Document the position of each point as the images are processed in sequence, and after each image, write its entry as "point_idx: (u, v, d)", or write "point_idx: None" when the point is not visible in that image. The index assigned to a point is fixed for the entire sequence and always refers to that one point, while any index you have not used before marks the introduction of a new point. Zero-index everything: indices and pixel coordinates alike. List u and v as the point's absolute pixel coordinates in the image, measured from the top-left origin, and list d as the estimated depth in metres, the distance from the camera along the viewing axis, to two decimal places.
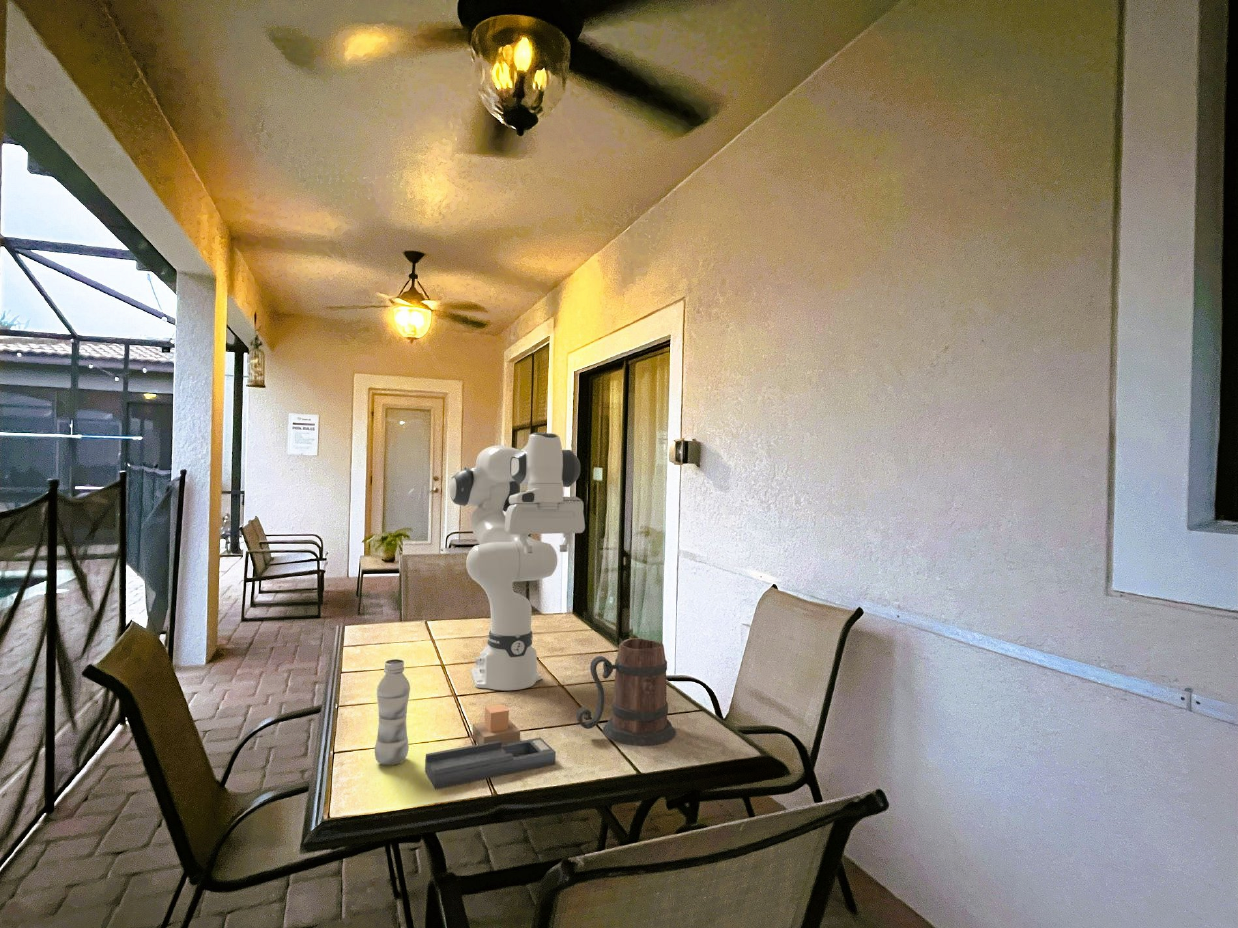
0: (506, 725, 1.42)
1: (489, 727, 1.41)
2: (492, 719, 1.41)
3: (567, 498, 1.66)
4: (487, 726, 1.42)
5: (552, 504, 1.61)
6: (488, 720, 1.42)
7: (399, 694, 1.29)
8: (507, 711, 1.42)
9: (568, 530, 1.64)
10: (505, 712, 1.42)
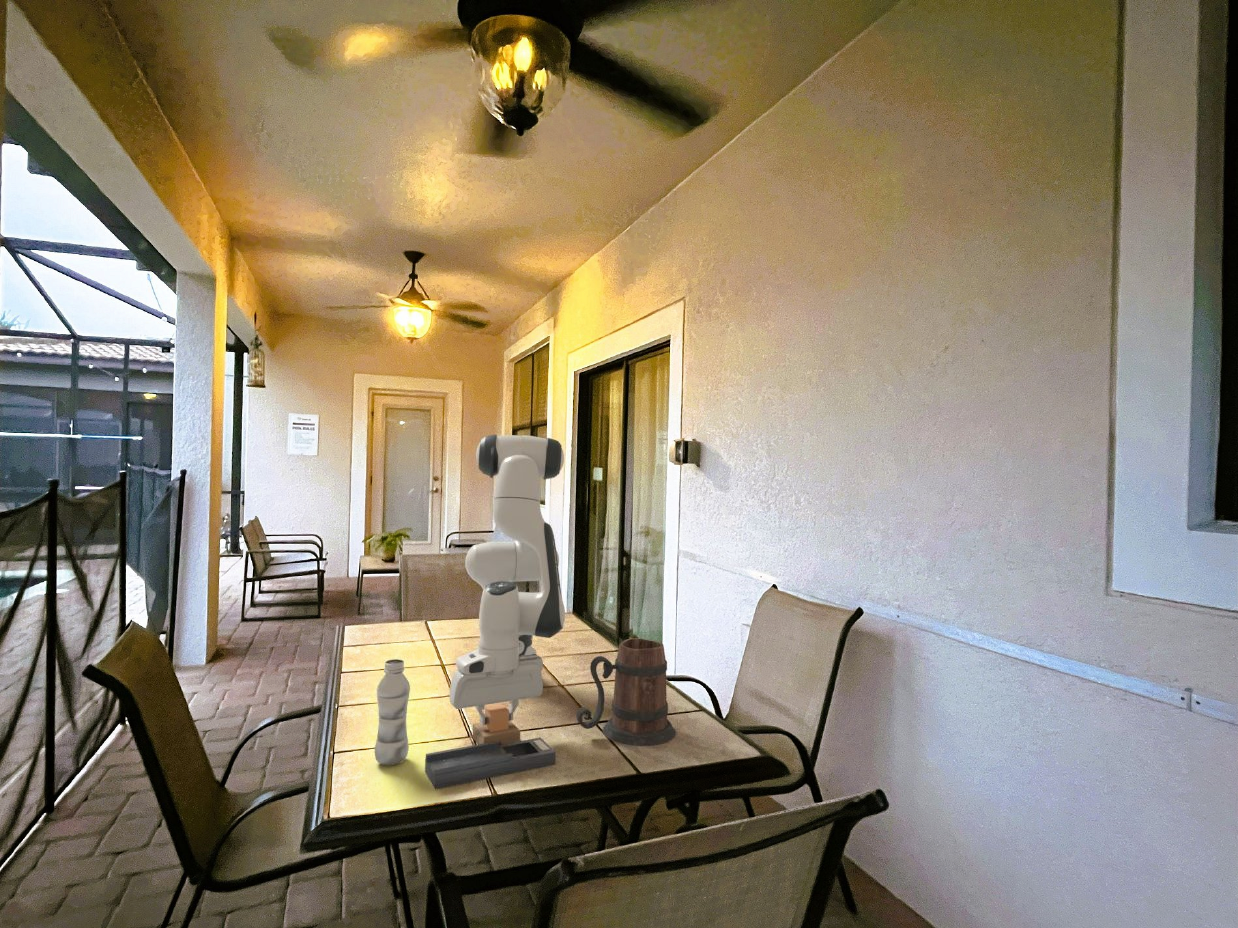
0: (506, 725, 1.42)
1: (490, 727, 1.41)
2: (493, 719, 1.41)
3: (524, 657, 1.46)
4: (487, 726, 1.42)
5: (505, 671, 1.41)
6: None
7: (399, 694, 1.29)
8: (507, 711, 1.42)
9: (523, 696, 1.44)
10: (506, 712, 1.42)
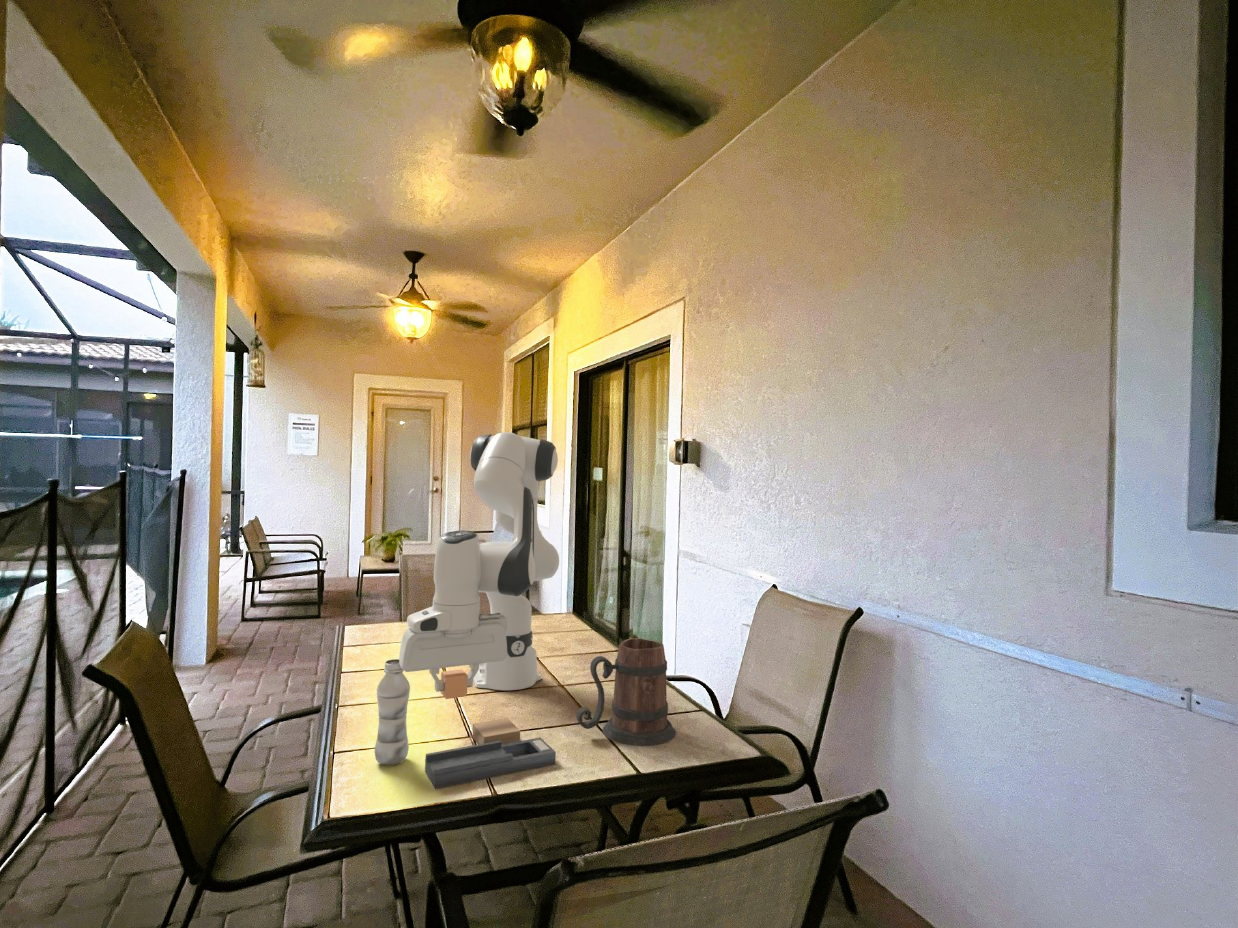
0: (464, 692, 1.25)
1: (445, 693, 1.24)
2: (449, 684, 1.24)
3: (485, 616, 1.29)
4: (443, 693, 1.25)
5: (462, 630, 1.24)
6: (444, 686, 1.25)
7: (399, 694, 1.29)
8: (466, 676, 1.26)
9: (484, 660, 1.28)
10: (464, 677, 1.25)
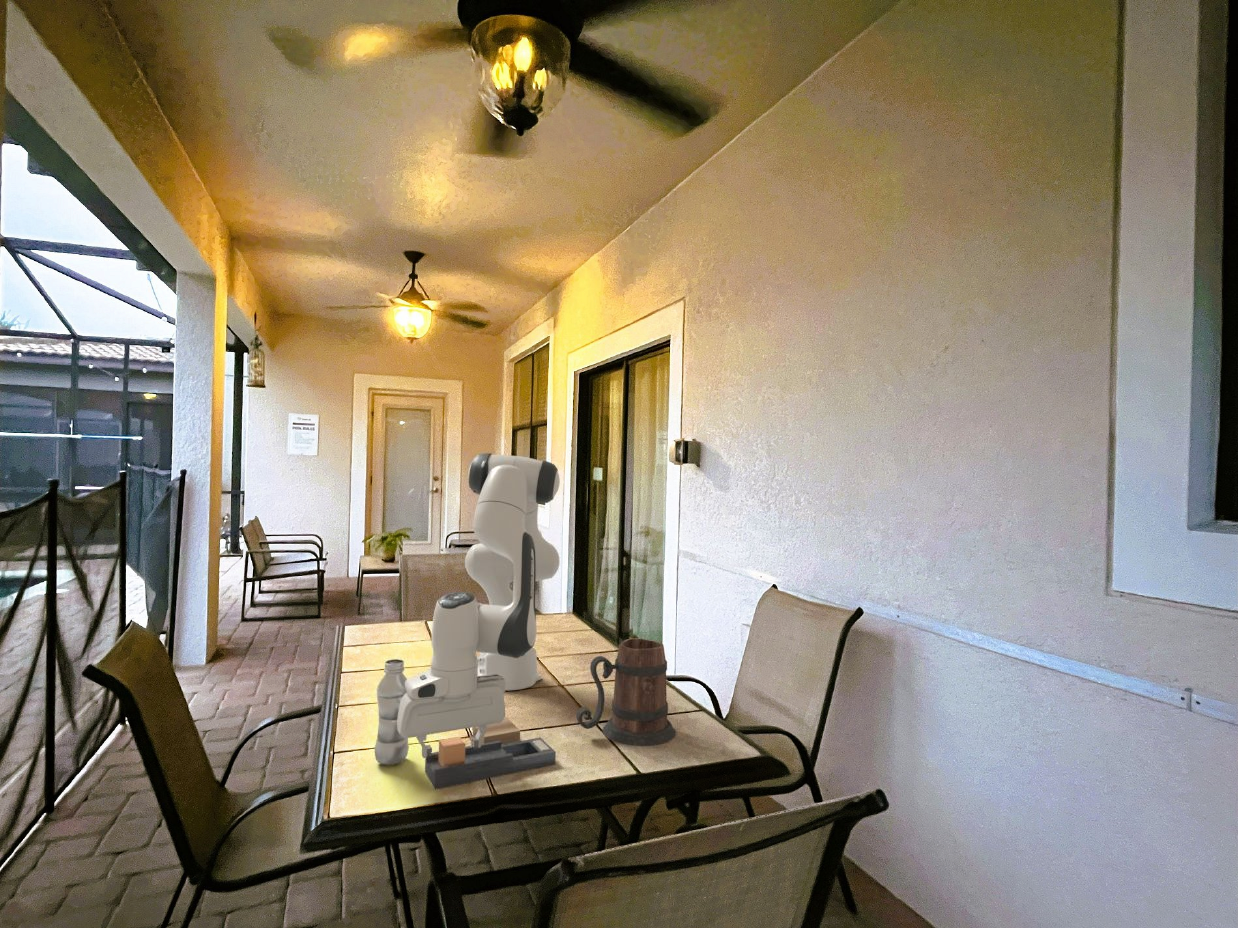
0: (462, 761, 1.25)
1: (443, 763, 1.24)
2: (446, 754, 1.24)
3: (483, 679, 1.29)
4: (441, 762, 1.25)
5: (460, 695, 1.24)
6: (442, 756, 1.25)
7: (399, 694, 1.29)
8: (463, 745, 1.25)
9: (482, 722, 1.28)
10: (461, 747, 1.25)
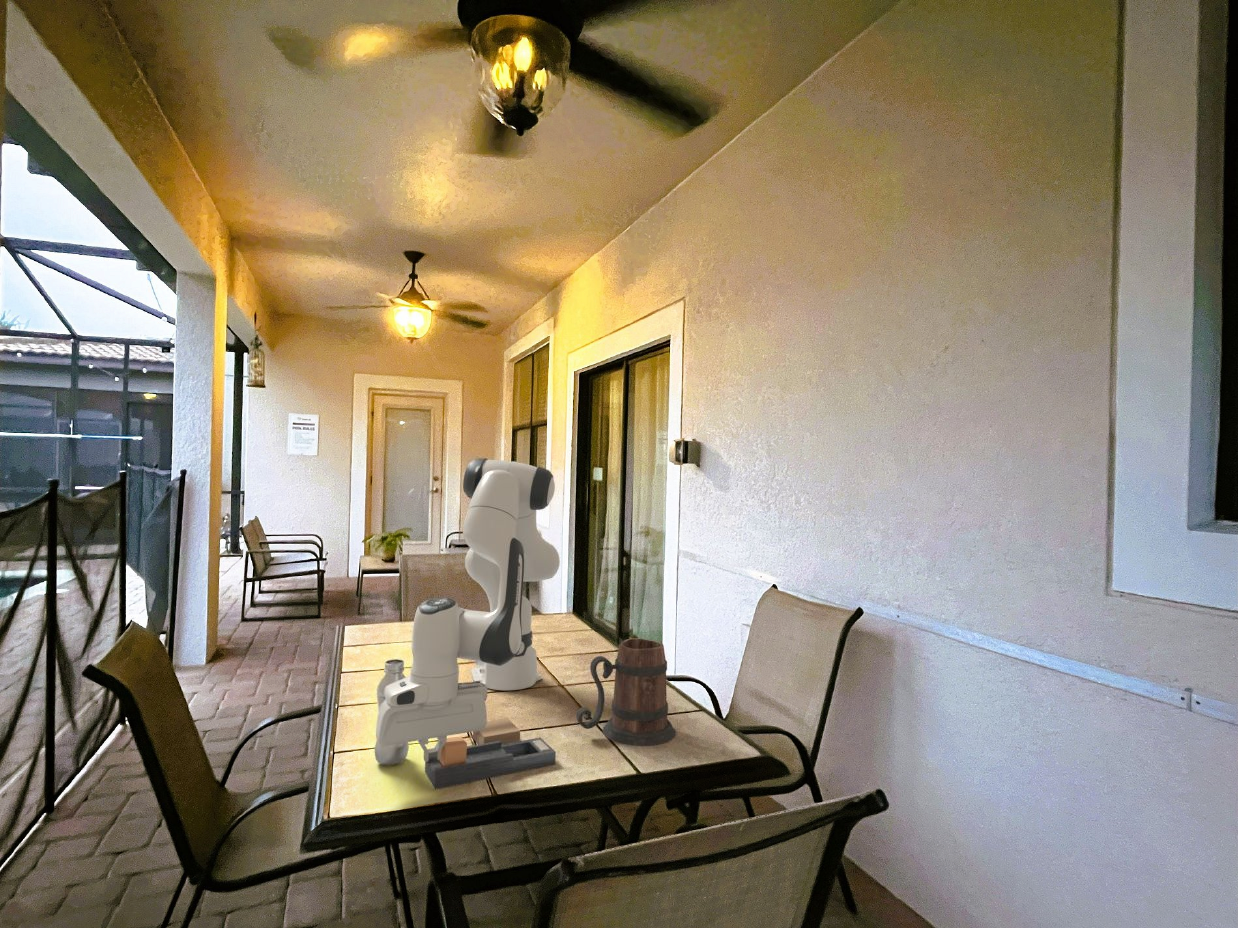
0: (463, 761, 1.25)
1: (444, 762, 1.24)
2: (448, 753, 1.24)
3: (465, 685, 1.27)
4: (442, 761, 1.25)
5: (440, 702, 1.22)
6: (443, 755, 1.25)
7: None
8: (465, 745, 1.26)
9: (463, 730, 1.26)
10: (463, 746, 1.25)
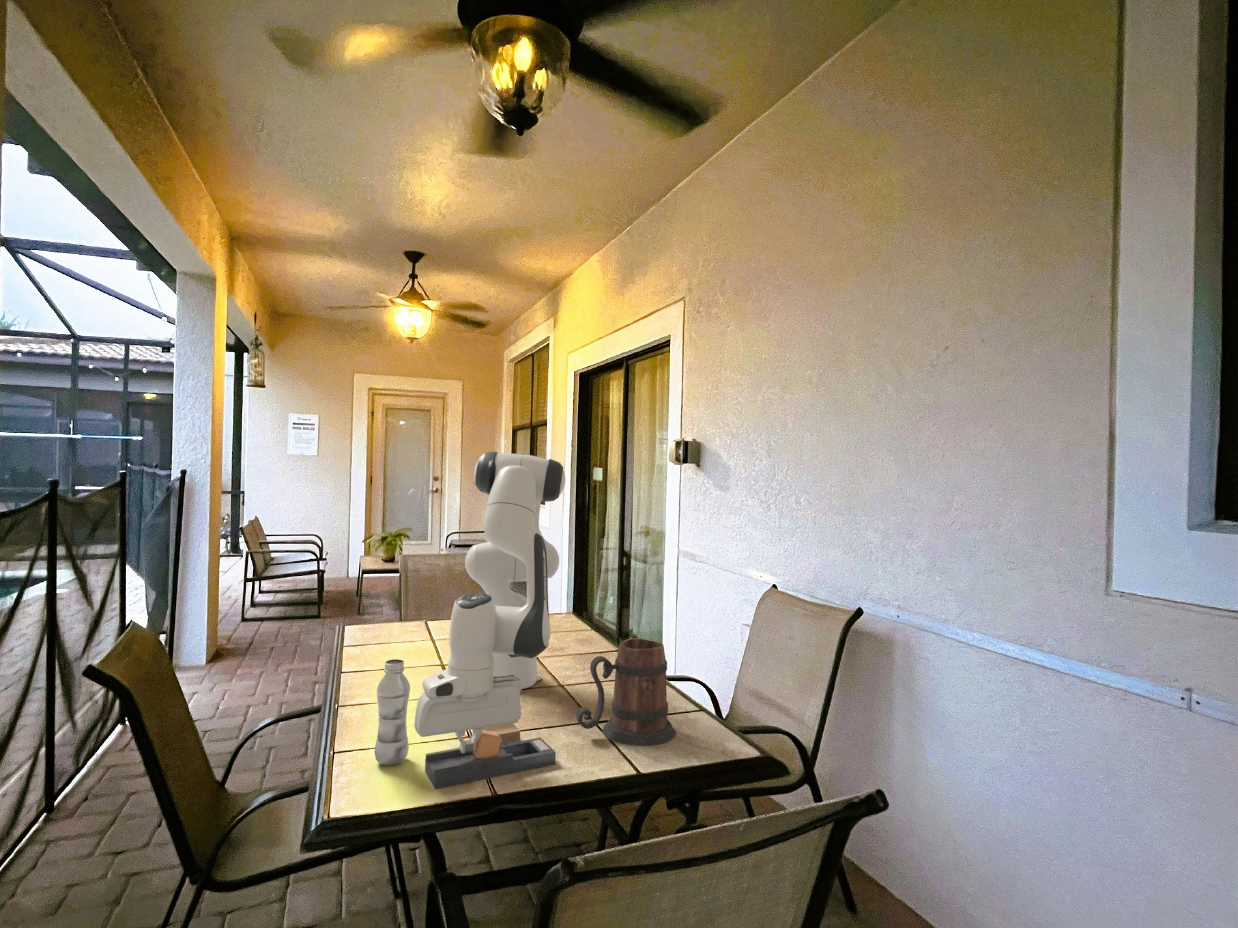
0: (495, 755, 1.28)
1: (477, 752, 1.27)
2: (483, 744, 1.27)
3: (500, 679, 1.30)
4: None
5: (477, 694, 1.26)
6: (478, 745, 1.28)
7: (399, 694, 1.29)
8: (500, 740, 1.29)
9: (498, 722, 1.29)
10: (498, 741, 1.28)
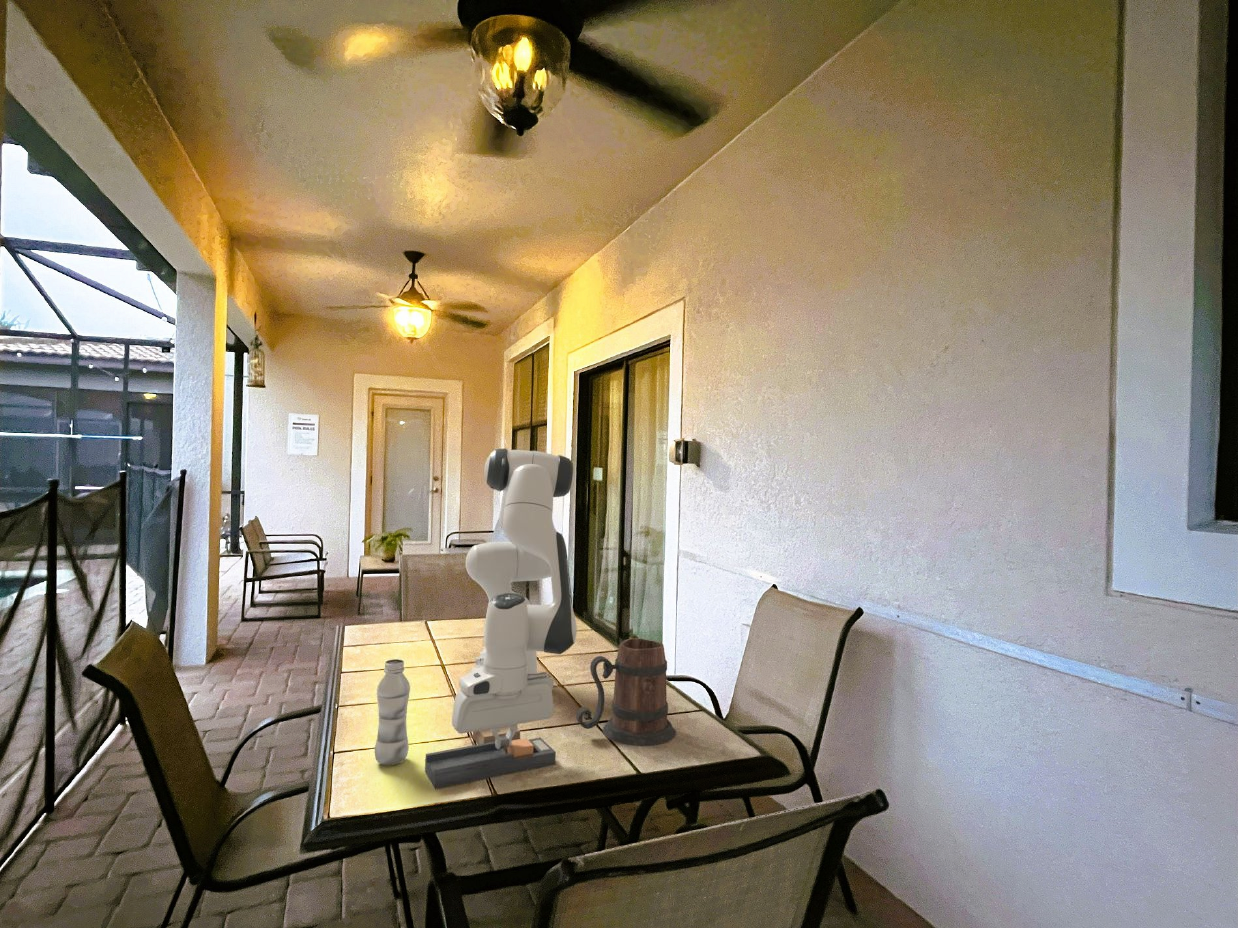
0: None
1: (517, 747, 1.31)
2: (526, 748, 1.31)
3: (533, 676, 1.34)
4: (513, 744, 1.32)
5: (512, 692, 1.29)
6: (521, 744, 1.32)
7: (399, 694, 1.29)
8: None
9: (532, 718, 1.33)
10: None
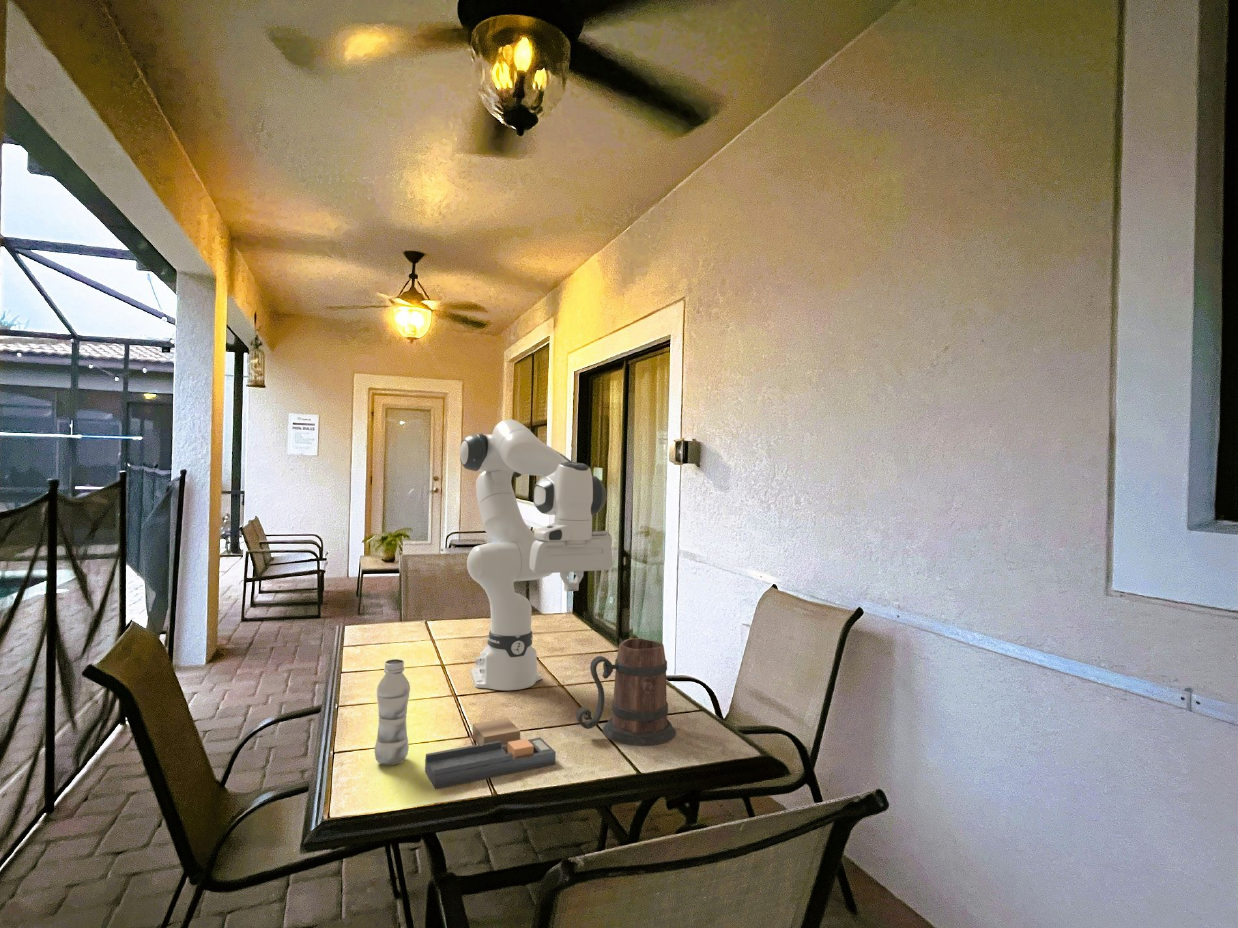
0: None
1: (518, 747, 1.31)
2: (527, 749, 1.31)
3: (595, 533, 1.57)
4: (513, 745, 1.32)
5: (580, 541, 1.52)
6: (521, 745, 1.32)
7: (399, 694, 1.29)
8: None
9: (595, 568, 1.55)
10: None
